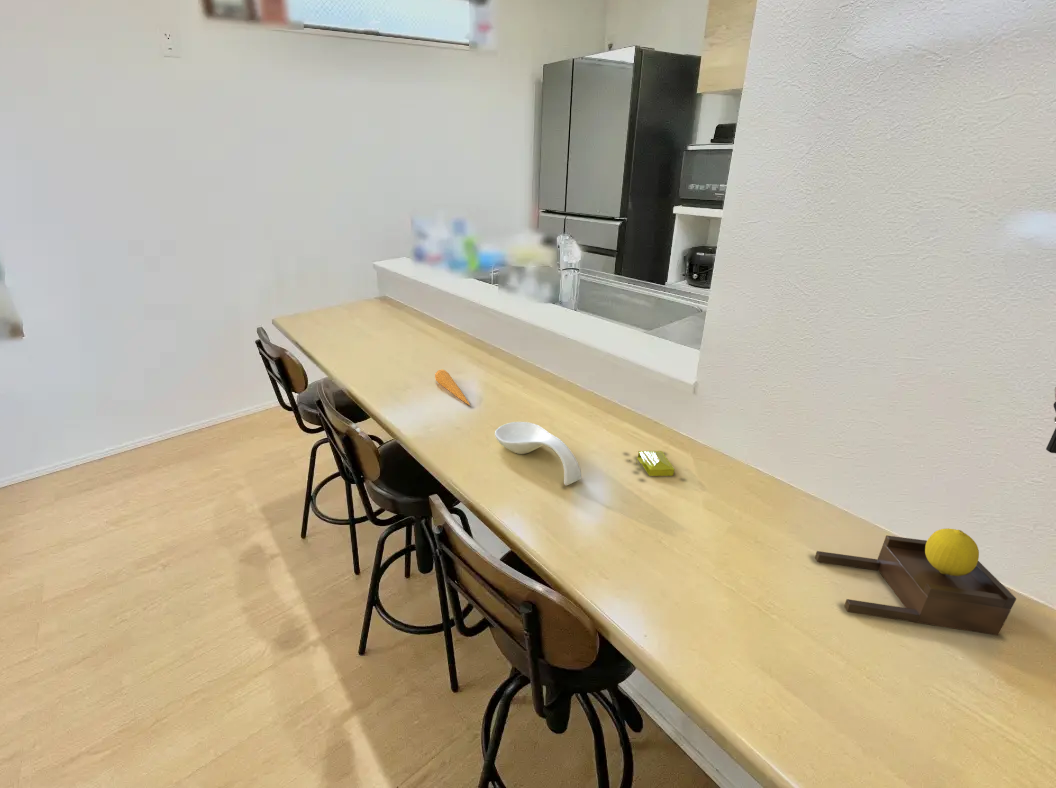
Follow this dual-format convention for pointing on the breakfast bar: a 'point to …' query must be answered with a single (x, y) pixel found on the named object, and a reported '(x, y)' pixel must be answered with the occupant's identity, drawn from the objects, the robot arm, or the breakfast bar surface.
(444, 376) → the carrot
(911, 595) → the brown wooden wheelbarrow
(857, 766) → the breakfast bar surface
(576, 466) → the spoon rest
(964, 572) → the lemon
